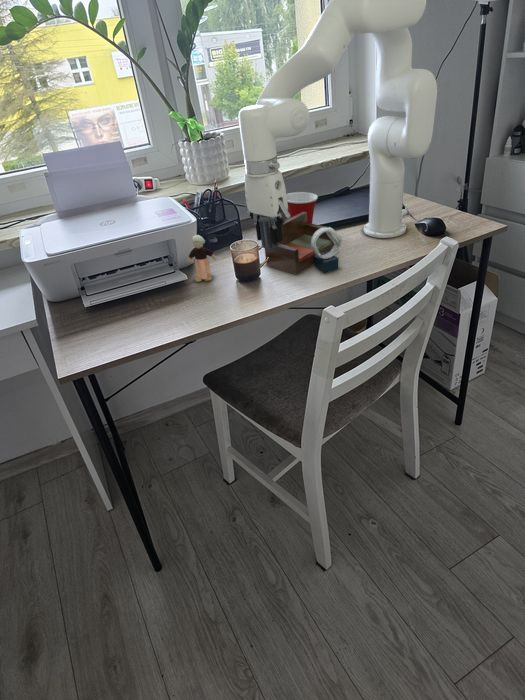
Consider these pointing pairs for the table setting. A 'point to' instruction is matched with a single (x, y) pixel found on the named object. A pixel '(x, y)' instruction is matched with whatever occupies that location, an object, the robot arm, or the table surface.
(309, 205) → the plastic cup
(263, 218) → the pepper pot
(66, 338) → the table surface
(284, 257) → the sofa
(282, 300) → the table surface
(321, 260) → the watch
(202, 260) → the grandmother figurine
